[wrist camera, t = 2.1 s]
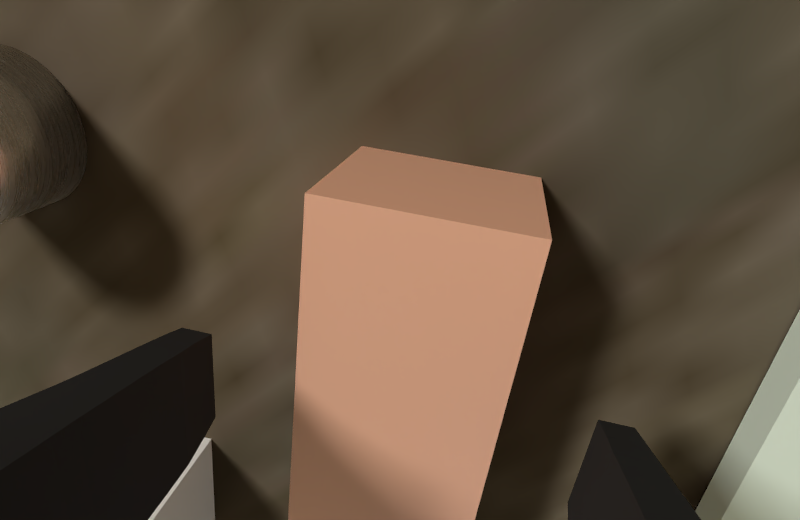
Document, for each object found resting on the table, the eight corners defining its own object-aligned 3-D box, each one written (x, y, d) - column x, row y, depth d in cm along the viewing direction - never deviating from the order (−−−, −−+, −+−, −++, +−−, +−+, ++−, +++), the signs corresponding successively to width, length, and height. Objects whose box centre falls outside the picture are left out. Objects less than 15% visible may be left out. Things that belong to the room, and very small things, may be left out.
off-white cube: (216, 522, 18) (145, 643, 15) (112, 494, 19) (19, 605, 15) (212, 437, 17) (130, 550, 13) (98, 409, 17) (-11, 510, 14)
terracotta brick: (472, 446, 15) (460, 570, 12) (337, 413, 15) (288, 524, 12) (540, 175, 12) (552, 239, 8) (363, 144, 12) (305, 193, 9)
